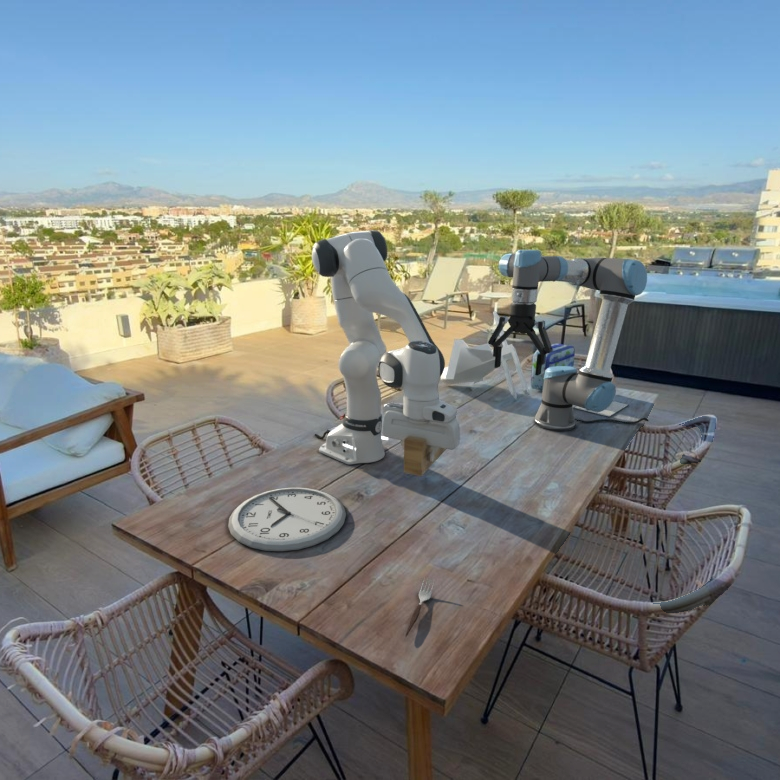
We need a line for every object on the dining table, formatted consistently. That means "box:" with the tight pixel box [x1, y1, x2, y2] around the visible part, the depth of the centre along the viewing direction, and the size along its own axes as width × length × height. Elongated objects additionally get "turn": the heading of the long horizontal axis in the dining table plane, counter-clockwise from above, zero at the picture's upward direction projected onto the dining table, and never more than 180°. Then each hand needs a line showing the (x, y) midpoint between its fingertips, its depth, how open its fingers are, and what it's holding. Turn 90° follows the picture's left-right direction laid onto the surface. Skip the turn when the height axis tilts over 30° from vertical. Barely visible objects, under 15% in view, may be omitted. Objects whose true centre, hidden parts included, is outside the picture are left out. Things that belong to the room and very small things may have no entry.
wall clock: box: [227, 487, 347, 552], centre depth 136 cm, size 30×2×30 cm
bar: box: [403, 415, 457, 477], centre depth 141 cm, size 26×5×9 cm, turn 154°
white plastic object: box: [440, 310, 531, 400], centre depth 245 cm, size 37×45×31 cm
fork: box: [405, 577, 435, 637], centre depth 104 cm, size 3×16×2 cm, turn 160°
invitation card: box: [573, 400, 629, 418], centre depth 226 cm, size 21×1×15 cm
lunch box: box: [530, 343, 576, 391], centre depth 249 cm, size 26×11×21 cm, turn 134°
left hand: (419, 458), depth 134 cm, fingers closed on bar, 5 cm apart
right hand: (517, 370), depth 164 cm, fingers open, 13 cm apart
